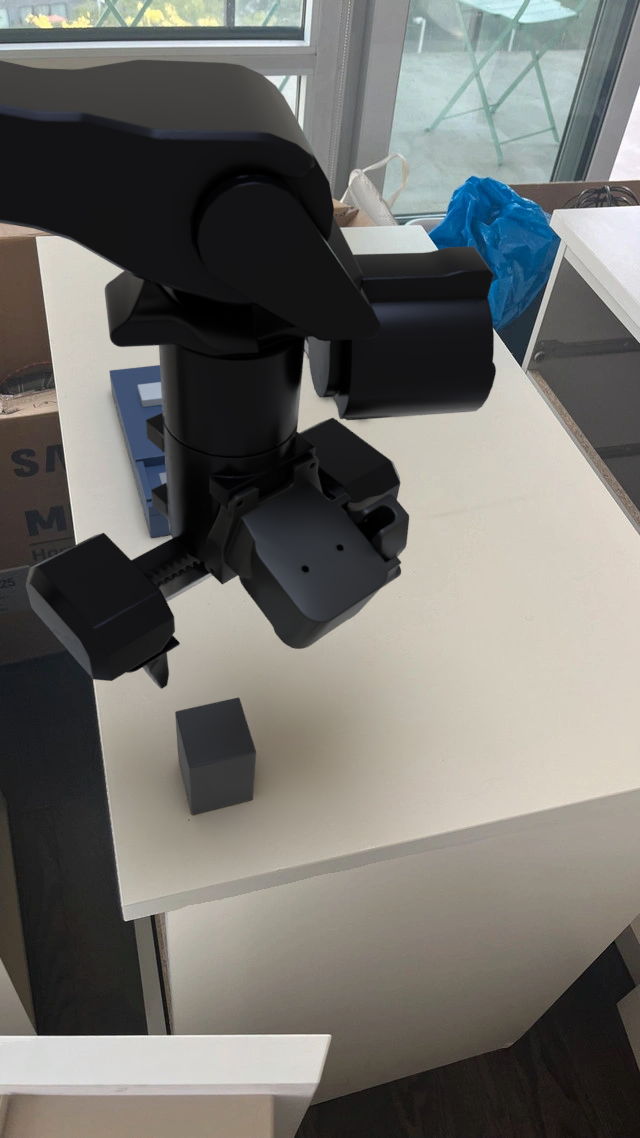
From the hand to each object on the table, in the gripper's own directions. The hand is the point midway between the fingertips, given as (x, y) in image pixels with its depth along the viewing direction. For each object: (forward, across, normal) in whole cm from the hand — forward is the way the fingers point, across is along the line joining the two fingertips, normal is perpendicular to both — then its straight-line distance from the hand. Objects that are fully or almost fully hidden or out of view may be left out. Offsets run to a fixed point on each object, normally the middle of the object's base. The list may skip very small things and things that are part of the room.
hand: (226, 639), depth 47 cm
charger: (+12, -2, -1) cm, 12 cm away
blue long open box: (+12, +14, +27) cm, 33 cm away
